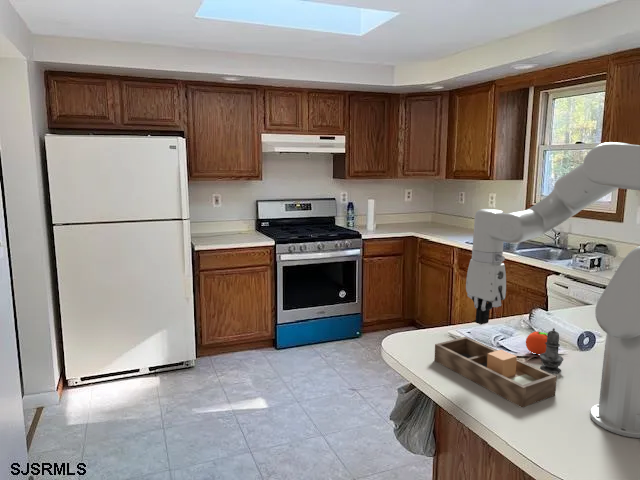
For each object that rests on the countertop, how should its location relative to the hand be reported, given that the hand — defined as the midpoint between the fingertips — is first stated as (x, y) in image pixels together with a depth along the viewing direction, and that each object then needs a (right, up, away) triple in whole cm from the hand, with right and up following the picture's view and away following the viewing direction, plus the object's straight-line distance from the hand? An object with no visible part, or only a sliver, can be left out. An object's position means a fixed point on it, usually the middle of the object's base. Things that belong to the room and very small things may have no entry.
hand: (481, 322), depth 128 cm
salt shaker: (+20, -14, +3) cm, 25 cm away
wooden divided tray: (+2, -14, -1) cm, 14 cm away
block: (+4, -12, -4) cm, 14 cm away
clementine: (+22, -12, +13) cm, 28 cm away
